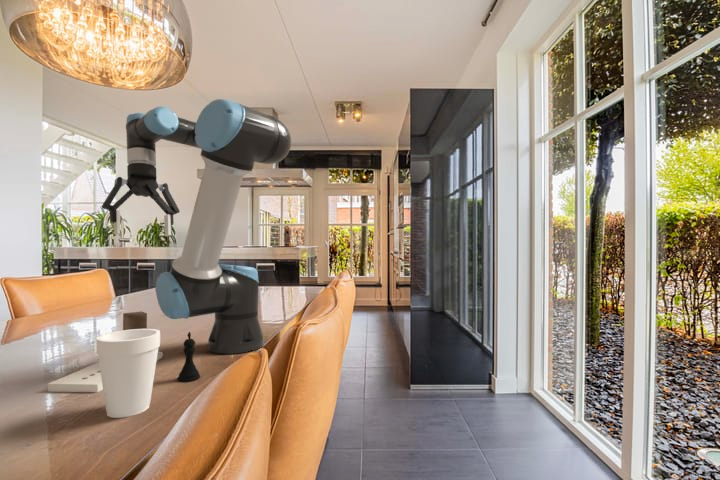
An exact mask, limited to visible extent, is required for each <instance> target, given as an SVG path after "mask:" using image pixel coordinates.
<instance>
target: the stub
mask: <svg viewBox="0 0 720 480" xmlns="http://www.w3.org/2000/svg"><path fill="white" fill-rule="evenodd" d="M147 321H148V313H147V312H143V311H141V310H140V311H134V312H133V311H132V312H124V313H123V314H122V331H123V330H131V329H148V326H147V325H148V324H147V323H148V322H147Z"/></svg>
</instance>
